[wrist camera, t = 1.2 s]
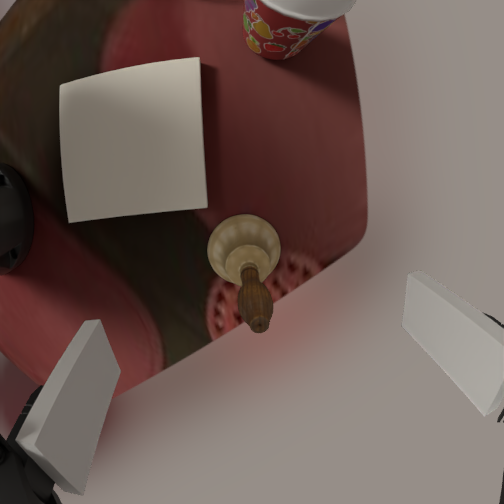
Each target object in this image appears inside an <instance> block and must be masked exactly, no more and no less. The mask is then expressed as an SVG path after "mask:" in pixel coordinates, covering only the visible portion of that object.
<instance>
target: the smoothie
mask: <svg viewBox="0 0 504 504" xmlns="http://www.w3.org/2000/svg"><path fill="white" fill-rule="evenodd" d="M355 2H356V0H244V15H243V36H244V40H245V42H246V43H247V45H248V47H249V48H250V49H251V50H253V51H254V52H255V53H256V54H258V55H260V56H262V57H264V58H268V59H273V60H281V59H287V58H290V57H293V56H294V55H296V54H297V53H298V52H300V51H301V50H302V49H303V48H304V47H305V46H306V45H307V44H309V43H310V42H311V41H312V40H313V39H314V38H315V37H317V36H318V35H319V34H320V33H321V32H322V31H324V30H325V29H326V28H327V27H328V26H330V25H331V24H332V23H333V22H335V21H336V20H337V19H338V18H339V17H341V16H342V15H343V14H345V13H347V12H348V11H350V9H351V8H352V6H353V5H354V4H355Z"/></svg>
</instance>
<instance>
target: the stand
mask: <svg viewBox="0 0 504 504" xmlns="http://www.w3.org/2000/svg"><path fill="white" fill-rule="evenodd" d="M59 114H60V147H61V162H62V173H63V183H64V192H65V200H66V207H67V214H68V220H69V223H73V222H80V221H87V220H95V219H103V218H111V217H120V216H128V215H137V214H147V213H156V212H166V211H177V210H188V209H199V208H207V207H208V198H207V185H206V170H205V154H204V137H203V117H202V94H201V64H200V58H199V57H196V58H186V59H177V60H170V61H162V62H156V63H150V64H144V65H138V66H133V67H128V68H123V69H118V70H114V71H109V72H105V73H101V74H97V75H93V76H89V77H86V78H82V79H79V80H75V81H72V82H68V83H65V84H62V85H60V106H59Z"/></svg>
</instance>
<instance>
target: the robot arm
mask: <svg viewBox="0 0 504 504" xmlns="http://www.w3.org/2000/svg"><path fill="white" fill-rule="evenodd" d="M33 232H34V217H33V209H32V204H31V200H30V196H29V193H28V191H27V188H26V186H25V184H24V182H23V180H22V179H21V177H20V176H19V175H18V173H17V172H16V171H15V170H14V169H13V168H11V167H10V166H8V165H6V164H4V163H0V275H4V274H6V273H8V272H10V271H12V270H13V269H14V268H16V267H17V266H19V265H20V264H21V263H22V262H23V261H24V259H25V258H26V256H27V254H28V252H29V250H30V247H31V244H32V239H33ZM401 326H402V327H403V328H404V329H405V330H406V331H407V332H408V333H409V334H410V335H411V337H412V338H413V339H414V340H415V341H416V342H417V343H418V344H419V345H420V346H421V347H422V348H423V349H424V350H425V351H426V352H427V353H428V354H429V356H430V357H432V359H433V360H434V361H435V362H436V363H437V364H438V365H439V366H440V367H441V368H442V369H443V371H444V372H445V373H446V374H447V375H448V376H449V377H450V378H451V379H452V380H453V382H454V383H455V384H456V385H457V386H458V387H459V388H460V389H461V390H462V391H463V393H464V394H465V395H466V396H467V397H468V398H469V400H470V401H471V402H472V403H473V404H474V405H475V406H476V408H477V409H478V410H479V411H480V412H481V413H482V414H483V416H484V417H485V416H487V415H488V414H490V413H491V412H493V411H494V410H496V409H497V408H498V407H499V405H500V403H501V401H502V399H503V397H504V325H503V324H502V325H501V323H500V322H499V321H498V320H496V319H495V318H494V317H492V316H489V315H487V314H485V313H482V312H480V311H479V310H478V309H477V308H475V307H474V306H472V305H471V304H469V303H468V302H467V301H465V300H464V299H463V298H461V297H460V296H458V295H457V294H455V293H454V292H452V291H451V290H450V289H448V288H447V287H445V286H444V285H442V284H441V283H439V282H438V281H436V280H435V279H433V278H432V277H430V276H429V275H427V274H426V273H424V272H423V271H421V270H420V271H416V272H411V273H408V277H407V287H406V295H405V303H404V311H403V318H402V324H401ZM120 372H121V370H120V368H119V366H118V363H117V361H116V359H115V356H114V354H113V351H112V349H111V346H110V344H109V341H108V339H107V336H106V334H105V331H104V328H103V326H102V323H101V320H100V319H99V320H87V321H84V323H83V324H82V326H81V327H80V329H79V330H78V332H77V333H76V335H75V336H74V338H73V339H72V341H71V343H70V344H69V346H68V347H67V349H66V350H65V352H64V354H63V355H62V357H61V358H60V360H59V362H58V363H57V365H56V367H55V368H54V370H53V372H52V373H51V375H50V377H49V378H48V380H47V382H46V383H45V385H44V386H42V385H41V386H40V387H39V388H38V389H36V390H35V391H34V392H33V393H32V394H31V396H30V398H29V400H28V401H27V403H26V406H24V408H23V410H22V414H20V416H19V417H18V419H17V421H16V423H15V425H14V427H13V429H12V431H11V432H10V435H9V436H8V438H7V440H5V439H4V438H3V437H2V436H1V434H0V504H62V503H61V501H60V499H59V497H58V495H57V494H56V493H55V491H54V490H53V487H54V484H55V483H56V484H57V485H58V486H59V487H60V488H61V489H62V490H63V491H65V492H69V493H74V494H78V495H84V491H85V487H86V483H87V478H88V475H89V471H90V468H91V464H92V460H93V457H94V453H95V450H96V446H97V443H98V439H99V436H100V433H101V429H102V426H103V423H104V420H105V417H106V413H107V410H108V407H109V404H110V401H111V398H112V395H113V392H114V389H115V386H116V384H117V381H118V378H119V375H120ZM503 416H504V409H503V411H502V412H501V414H500V416H499V417H498V421H497V422H500V421H501V419H502V418H503ZM503 422H504V421H503ZM499 504H504V473H503V482H502V490H501V497H500V503H499Z"/></svg>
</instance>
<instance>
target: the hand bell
mask: <svg viewBox="0 0 504 504" xmlns="http://www.w3.org/2000/svg"><path fill="white" fill-rule="evenodd" d="M207 253H208V258H209V262H210V264H211V266H212V268H213V269H214V271H215V272H216V273H217V274H218V275H219V276H220V277H222V278H223V279H225V280H227V281H229V282H231V283H235V284H237V285H238V286H242V287H241V288H240V291H239V294H238V309H239V312H240V315H241V317H242V318H243V320H244V321H245V322H246V323H247V324H248V325H249V326H250V328H251V330H252V331H253V332H255V333H262V332H265V331H266V330H267V329H268V328H269V322H270V319H271V317H272V314H273V301H272V298H271V295H270V292H269V291H268V289H267V288H266V286H265V285H264V284H263V283H262V282H263V281H264V280H265V279H266V278H267V276H268V275H269V274H270V273H271V272H272V271H273V270H274V268H275V267H276V265H277V263H278V261H279V258H280V253H281V245H280V240H279V237H278V234H277V233H276V231H275V229H274V228H273V227H272V226H271V225H270V224H269V223H268V222H267V221H265V220H264V219H262V218H260V217H258V216H254V215H248V214H242V215H236V216H232V217H229V218H228V219H226V220H224V221H223V222H221V223H220V224H219V225H218V226H217V227H216V228H215V229H214V231H213V232H212V234H211V236H210V238H209V242H208V248H207Z"/></svg>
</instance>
